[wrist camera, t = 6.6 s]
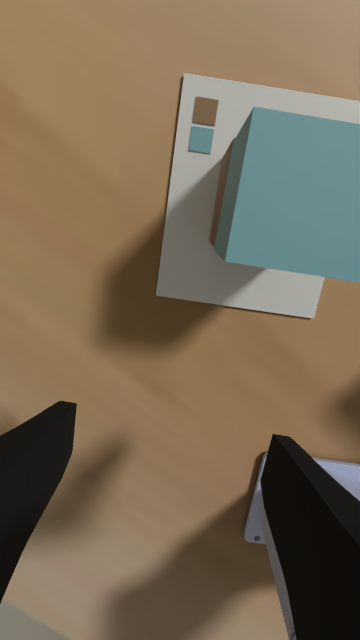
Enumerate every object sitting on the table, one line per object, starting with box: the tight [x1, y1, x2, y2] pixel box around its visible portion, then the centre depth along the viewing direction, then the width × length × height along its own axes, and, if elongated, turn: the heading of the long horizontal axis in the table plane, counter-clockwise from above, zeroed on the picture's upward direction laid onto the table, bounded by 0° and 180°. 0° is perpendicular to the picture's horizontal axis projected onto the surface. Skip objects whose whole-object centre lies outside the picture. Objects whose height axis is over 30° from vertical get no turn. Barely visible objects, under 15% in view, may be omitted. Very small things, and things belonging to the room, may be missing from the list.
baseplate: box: [156, 73, 360, 319], centre depth 20 cm, size 10×12×1 cm
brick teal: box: [214, 107, 360, 282], centre depth 13 cm, size 5×5×5 cm
